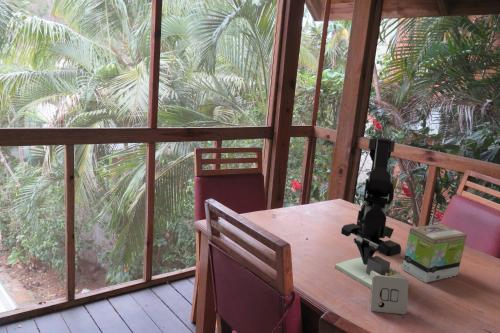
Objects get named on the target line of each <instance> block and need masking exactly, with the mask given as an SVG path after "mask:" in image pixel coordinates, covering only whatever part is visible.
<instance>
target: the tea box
mask: <svg viewBox="0 0 500 333" xmlns="http://www.w3.org/2000/svg"><path fill="white" fill-rule="evenodd" d="M467 235H468V234H466V233H464V232H461V231H460V230H458V229H454V228H453V227H450V226H447V225H445V224H443V223H438V224H437V223H436V224H429V225H422V226H414V227H413V226H412V227H409V232H408V238H407V241H406V247H405V250H404V251H405V252H404V255H403V256H404V257H403V261H402V265H401V270H403V271H404V272H406V273H408V274H410V275H412V276H413V277H414V278H416V279H417V280H420V281H421V282H423V283H425V284H427V283H430V282H434V281H439V280H442V279H443V280H445V279H448V277H449V278H453V277H452V276H455V277H457V276H458V274H459V271H460V270H459V269H460V266H461V265H460V264H461V262H462V257H463V253H464V251H465V249H464V248H465V245H466V241H467V237H468V236H467ZM456 275H457V276H456ZM444 278H445V279H444Z"/></svg>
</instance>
